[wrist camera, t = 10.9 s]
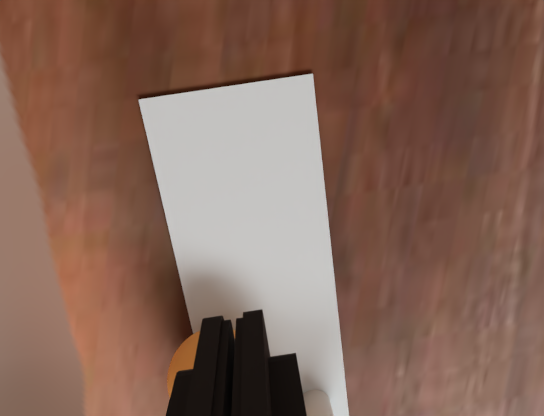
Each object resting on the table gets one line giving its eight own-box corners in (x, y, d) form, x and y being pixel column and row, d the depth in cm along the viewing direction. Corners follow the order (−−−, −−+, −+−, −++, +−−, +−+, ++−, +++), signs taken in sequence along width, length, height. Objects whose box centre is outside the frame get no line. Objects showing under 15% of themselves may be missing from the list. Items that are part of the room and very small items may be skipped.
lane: (139, 99, 24) (138, 99, 24) (312, 73, 24) (312, 73, 24) (233, 504, 34) (233, 507, 33) (355, 485, 34) (356, 487, 33)
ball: (186, 388, 30) (221, 311, 30) (254, 437, 27) (291, 351, 28) (130, 404, 24) (174, 310, 25) (209, 466, 22) (256, 360, 22)
